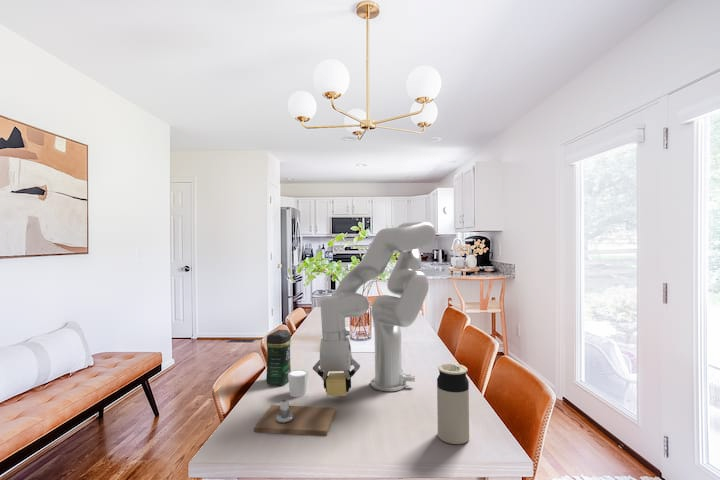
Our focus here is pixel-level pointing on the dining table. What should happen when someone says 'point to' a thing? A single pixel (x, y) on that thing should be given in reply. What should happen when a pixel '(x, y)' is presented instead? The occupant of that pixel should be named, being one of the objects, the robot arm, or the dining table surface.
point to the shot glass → (298, 383)
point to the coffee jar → (278, 357)
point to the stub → (284, 413)
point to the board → (298, 420)
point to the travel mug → (453, 403)
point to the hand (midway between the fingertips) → (337, 389)
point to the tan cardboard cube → (336, 384)
